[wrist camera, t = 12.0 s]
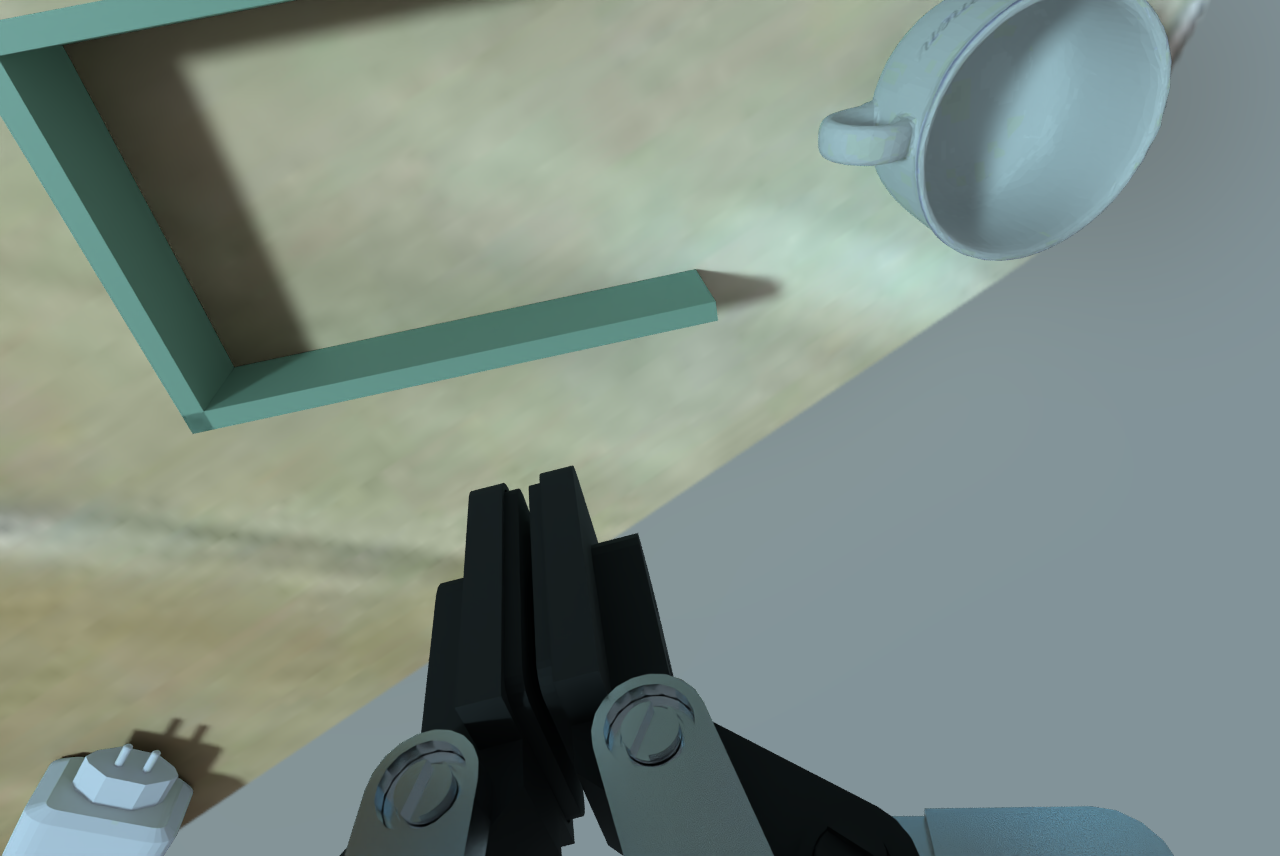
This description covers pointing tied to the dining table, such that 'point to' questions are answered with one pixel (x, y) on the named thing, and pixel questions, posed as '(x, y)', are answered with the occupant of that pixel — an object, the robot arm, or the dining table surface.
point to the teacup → (1011, 118)
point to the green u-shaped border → (164, 300)
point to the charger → (103, 807)
